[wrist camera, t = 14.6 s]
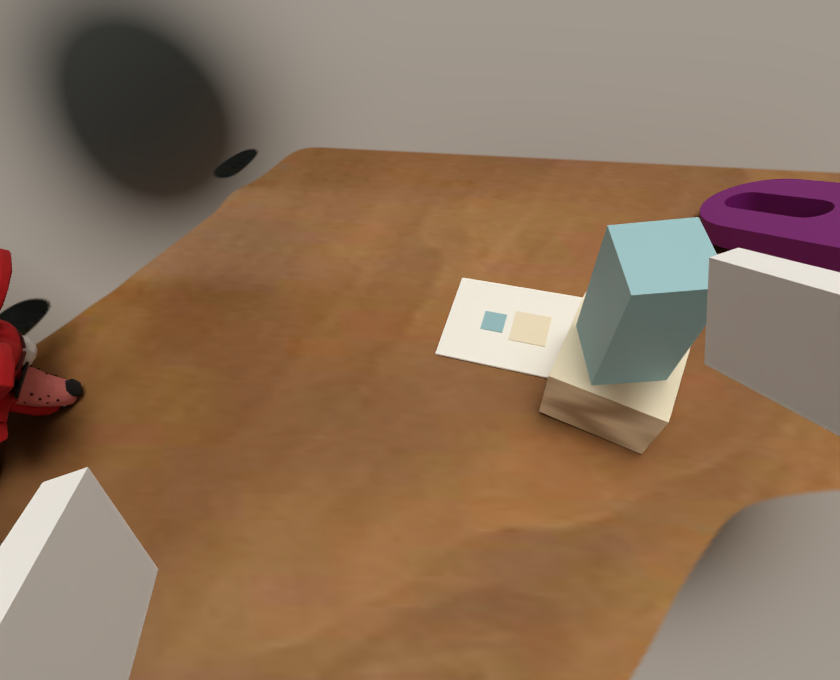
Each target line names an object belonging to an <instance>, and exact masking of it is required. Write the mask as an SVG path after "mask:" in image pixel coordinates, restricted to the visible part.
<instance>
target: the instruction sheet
mask: <svg viewBox="0 0 840 680" xmlns="http://www.w3.org/2000/svg"><path fill="white" fill-rule="evenodd" d="M582 299H583V298H582V297H576V296H570V295H564V294H558V293H552V292H546V291H540V290H534V289H528V288H522V287H516V286H510V285H504V284H498V283H492V282H486V281H480V280H474V279H468V278H462V280H461V283H460V286H459V289H458V291H457V294H456V297H455V300H454V303H453V305H452V308H451V311H450V314H449V317H448V319H447V322H446V325H445V328H444V331H443V334H442V336H441V339H440V342H439V345H438V348H437V350H436V353H435V354H436V355H440V356H445V357H449V358H454V359H459V360H463V361H468V362H473V363H477V364H482V365H487V366H491V367H496V368H501V369H505V370H510V371H515V372H519V373H524V374H529V375H533V376H538V377H543V378H547V379H548V376H549V374H550V372H551V369H552V367H553V365H554V362H555V360H556V358H557V356H558V353H559V351H560V349H561V347H562V344H563V342H564V340H565V338H566V335H567V333H568V331H569V328H570V326H571V324H572V322H573V319H574V317H575V315H576V313H577V310H578V308H579V306H580V303H581V301H582Z"/></svg>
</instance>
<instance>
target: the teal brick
mask: <svg viewBox="0 0 840 680" xmlns="http://www.w3.org/2000/svg"><path fill="white" fill-rule="evenodd" d="M715 255H717V253H716V251H715V249H714V247H713V245H712V243H711V241H710V239H709V237H708V235H707V233H706V231H705V229H704V227H703V225H702V223H701V221H700V219H699V217H695V218H684V219H673V220H662V221H651V222H640V223H629V224H618V225H608V226H607V229H606V232H605V235H604V238H603V241H602V245H601V248H600V251H599V254H598V257H597V260H596V264H595V267H594V270H593V273H592V276H591V279H590V283H589V286H588V289H587V292H586V295H585V298H584V302H583V305H582V308H581V311H580V314H579V317H578V321H577V324H576V327H577V331H578V335H579V339H580V343H581V347H582V351H583V355H584V359H585V362H586V366H587V370H588V374H589V378H590V382H591V385H605V384H619V383H633V382H647V381H661V380H667V379H668V377H669V376H670V375H671V373H672V372H673V370H674V369H675V368H676V366H677V365H678V363H679V362H680V361H681V359H682V358H683V356H684V355H685V354H686V352H687V351H688V349H689V348H690V347H691V345H692V344H693V342H694V341H695V340H696V338H697V337H698V335H699V334H700V333H701V331H702V330H703V328H704V327H705V326H706V318H707V295H708V272H709V257H712V256H715Z"/></svg>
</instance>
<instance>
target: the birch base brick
mask: <svg viewBox="0 0 840 680" xmlns="http://www.w3.org/2000/svg"><path fill="white" fill-rule="evenodd" d="M585 295H586V293H585V294H584V297H583V299H582V301H581V303H580V306H579V308H578V310H577V313H576V315H575V317H574V319H573V322H572V324H571V326H570V328H569V331H568V333H567V335H566V338H565V340H564V342H563V344H562V347H561V349H560V351H559V353H558V356H557V358H556V360H555V362H554V365H553V367H552V369H551V372H550V374H549V376H548V380H547V384H546V387H545V391H544V395H543V398H542V402H541V406H540V409H539V412H541V413H544V414H546V415H549V416H551V417H553V418H556V419H558V420H561V421H563V422H565V423H568V424H570V425H573V426H575V427H577V428H580V429H582V430H585V431H587V432H589V433H592V434H594V435H597V436H599V437H601V438H604V439H606V440H609V441H611V442H613V443H616V444H618V445H621V446H623V447H625V448H628V449H630V450H632V451H635V452H637V453H640V454H642V453H643V452H644V451H645V450H646V448H647V447H648V446H649V445H650V444H651V443H652V441H653V440H654V439H655V438H656V437H657V436H658V434H659V433H660V432H661V431H662V430H663V429H664V427H665V426H666V425H667V424H668V423H669V420H670V416H671V413H672V409H673V406H674V402H675V399H676V395H677V392H678V388H679V385H680V381H681V378H682V375H683V371H684V368H685V364H686V361H687V357H688V354H689V350H690V348H689V349H688V351H687V352H686V354H685V355H684V356H683V358H682V359H681V361H680V362H679V363H678V365H677V366H676V368H675V369H674V370H673V372H672V373H671V375H670V376H669V377H668V379H667V380H661V381H647V382H633V383H619V384H605V385H591V382H590V378H589V374H588V370H587V366H586V362H585V359H584V355H583V351H582V347H581V343H580V339H579V335H578V331H577V327H576V324H577V321H578V317H579V314H580V311H581V308H582V305H583V302H584V298H585Z"/></svg>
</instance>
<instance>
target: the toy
mask: <svg viewBox="0 0 840 680" xmlns="http://www.w3.org/2000/svg"><path fill="white" fill-rule="evenodd" d="M11 263H12V262H11V253H10V251H8V250H3V249H0V310H1V308H2V306H3V303H4V300H5V297H6V294H7V291H8V287H9V283H10V278H11V274H12V264H11ZM37 354H38V350H37V347H36V345H35V343H34V342H33V341H32V340H31V339H29V338H27V337H26V336H22V334H21V333H20V332H19V331H18V330H17V329H16V328H15V327H14V326H13V325H11V324H10V323H8V322H5V321H3V320H0V443H1V442H2V441H4V440H6V439H7V436H8V430H7V419H8V413H9V412H14V413H21V414H28V415H35V416H40V415H50V414H52V413H54V412H56V411H58V410H59V408H60V407H61V406H63V407H65V406H67V405H71V404H73V403H75V401H76V399H77V397H78V396H80V395H81V393H82V387H81V383H80V382H78V381H76V380H74V379H70V380H67V379H63V378H60V377H57V375H54V376H53V375H50V374H48V373H46V372H43V371H41V370H40V369H39V368H37V369H36V368H33V367H31V366H32V365H31V364H32V363H33V362H34V361H35V360H36V357H37Z"/></svg>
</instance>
